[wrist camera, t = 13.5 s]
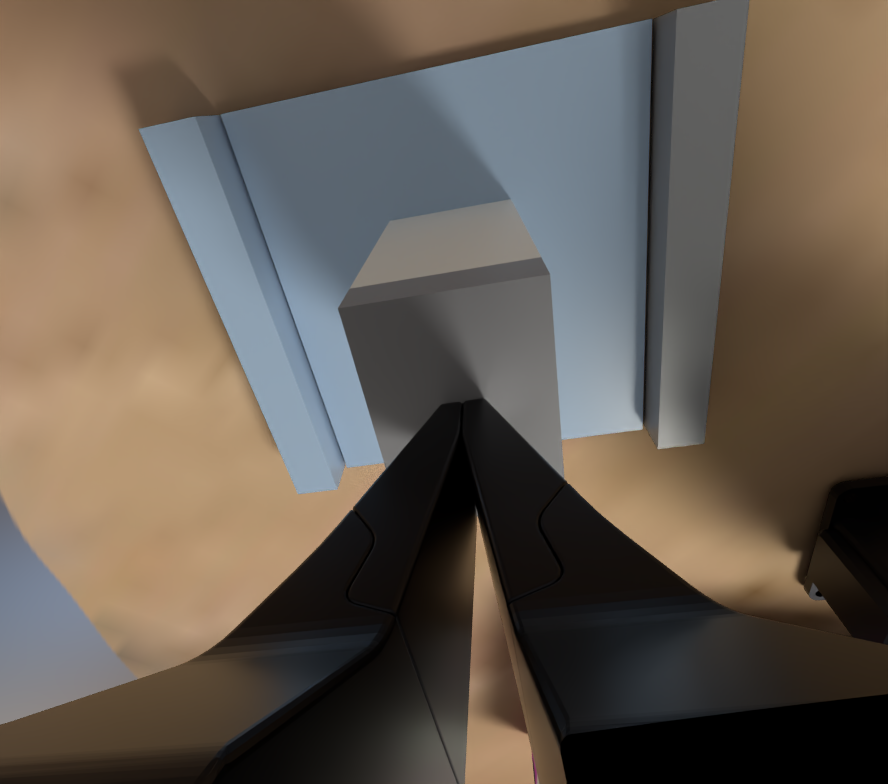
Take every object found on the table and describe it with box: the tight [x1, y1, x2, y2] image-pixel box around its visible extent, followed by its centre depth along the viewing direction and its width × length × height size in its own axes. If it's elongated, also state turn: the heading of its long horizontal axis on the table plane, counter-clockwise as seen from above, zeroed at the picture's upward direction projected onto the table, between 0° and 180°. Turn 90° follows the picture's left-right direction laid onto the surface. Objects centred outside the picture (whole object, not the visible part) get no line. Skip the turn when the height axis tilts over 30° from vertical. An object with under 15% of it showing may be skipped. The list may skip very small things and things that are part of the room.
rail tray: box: [139, 0, 749, 494], centre depth 14 cm, size 27×12×2 cm, turn 100°
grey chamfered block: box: [338, 199, 564, 516], centre depth 12 cm, size 4×5×7 cm
